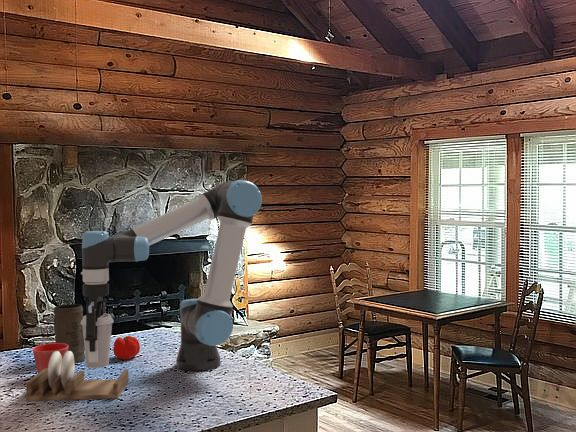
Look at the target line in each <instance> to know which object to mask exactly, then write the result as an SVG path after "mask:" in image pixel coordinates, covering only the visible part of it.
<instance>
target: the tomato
mask: <svg viewBox="0 0 576 432" xmlns="http://www.w3.org/2000/svg"><path fill="white" fill-rule="evenodd" d="M140 350H141V345H140V341H139V339H138V338H137V337H135V336H132V335H127V336H125V337H117V338H116V339H115V340H114V343H113V348H112V351H113V355H114V356H115V357H116V358H117V359H119V360H130V359H132V358H134V357H136V356H137V355H138V354H139V353H140Z"/></svg>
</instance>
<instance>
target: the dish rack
mask: <svg viewBox="0 0 576 432" xmlns="http://www.w3.org/2000/svg"><path fill="white" fill-rule="evenodd" d="M75 364H76V363H75V361H74V356H73V353H72V352H71V351H66V352H65V354H64V356H63V359H62V356H61V354H60V352H59V351H54V352H53V353H52V355H51V357H50V360H49V365H48V368H44V369H43V370H42V371H40V372H39V373H38V372H37V374H35V375H34V376H33V377H32V378H31V379H29V380H28V381H27V382H26V384H25V385H26V387H25V388H26V402H27V401H29V402H30V401H33V402H34V401H36V402H37V401H63V400H65V401H66V400H67V401H68V400H69V401H70V400H71V401H72V399H75V400H103V399H104V400H108V399H107V398H110V399H111V398H113V399H119V397H120V396H121V394H123V391H124V390H125V389H126V387H127V386H128V384H129V382H130V381H129V377H130V376H129V369H123V371H122V372H121V373H120V374H119V376H118V377H117V378H115V379H113V378H112V379H111V378H110V379H85V370H79V371H78V372H77V373H75V369H76V367H75Z"/></svg>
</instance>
